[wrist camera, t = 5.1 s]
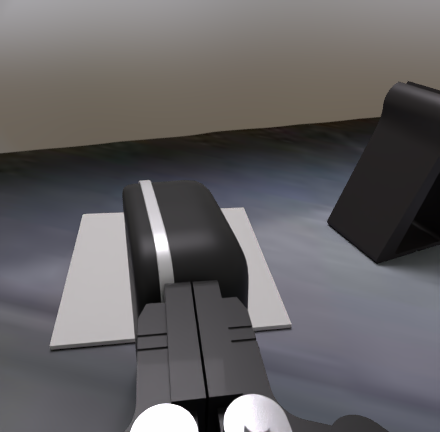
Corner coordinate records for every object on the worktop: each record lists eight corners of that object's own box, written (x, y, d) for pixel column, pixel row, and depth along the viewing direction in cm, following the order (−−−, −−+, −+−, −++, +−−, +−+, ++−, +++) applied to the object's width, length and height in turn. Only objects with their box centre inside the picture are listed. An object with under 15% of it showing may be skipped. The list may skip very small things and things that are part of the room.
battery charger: (241, 471, 17) (270, 253, 11) (152, 496, 16) (134, 270, 10) (203, 347, 23) (210, 161, 17) (136, 359, 22) (119, 167, 16)
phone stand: (401, 206, 38) (444, 78, 32) (455, 240, 34) (518, 98, 27) (326, 224, 35) (357, 84, 28) (374, 264, 30) (425, 108, 24)
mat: (50, 349, 22) (49, 346, 22) (83, 217, 34) (82, 214, 34) (290, 327, 24) (291, 324, 24) (243, 210, 36) (243, 207, 36)
